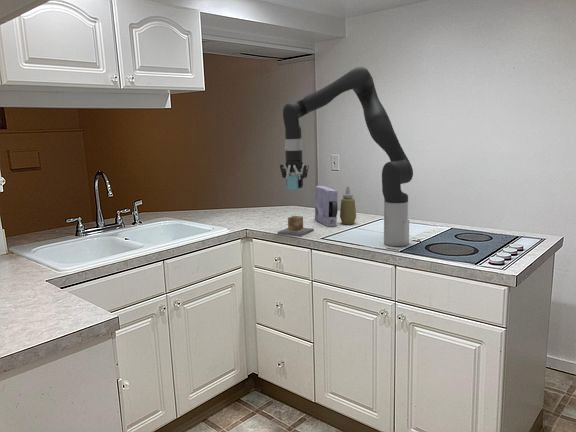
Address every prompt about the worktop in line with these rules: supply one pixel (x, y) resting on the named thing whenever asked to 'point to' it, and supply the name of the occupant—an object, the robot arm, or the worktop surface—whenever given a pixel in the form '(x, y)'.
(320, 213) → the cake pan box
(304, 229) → the base board
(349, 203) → the squeeze bottle
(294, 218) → the walnut block
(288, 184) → the teal block
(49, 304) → the worktop surface
